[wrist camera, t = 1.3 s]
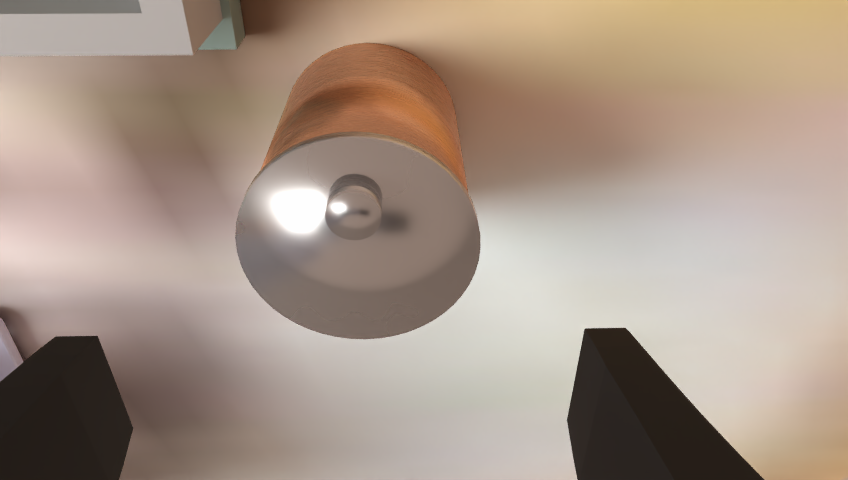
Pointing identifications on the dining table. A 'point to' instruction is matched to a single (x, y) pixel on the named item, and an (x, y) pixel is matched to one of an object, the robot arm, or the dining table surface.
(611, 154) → the dining table surface
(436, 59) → the dining table surface
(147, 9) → the grey green open box
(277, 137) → the spout can
